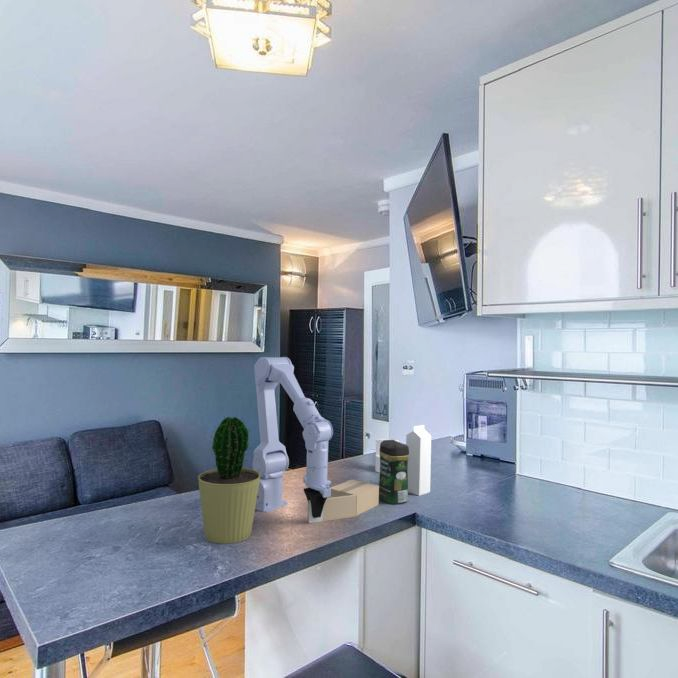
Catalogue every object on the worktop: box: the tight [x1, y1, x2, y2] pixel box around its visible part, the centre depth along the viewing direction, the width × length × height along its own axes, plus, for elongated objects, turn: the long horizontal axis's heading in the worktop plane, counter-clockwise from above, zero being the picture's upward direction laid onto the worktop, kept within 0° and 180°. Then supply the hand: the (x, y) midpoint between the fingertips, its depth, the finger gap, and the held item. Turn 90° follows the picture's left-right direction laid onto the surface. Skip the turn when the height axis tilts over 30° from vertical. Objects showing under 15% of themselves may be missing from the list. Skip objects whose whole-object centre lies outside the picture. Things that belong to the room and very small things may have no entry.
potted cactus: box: [197, 416, 261, 545], centre depth 120 cm, size 15×15×30 cm
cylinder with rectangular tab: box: [374, 437, 400, 474], centre depth 183 cm, size 9×9×12 cm
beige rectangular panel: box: [307, 495, 357, 524], centre depth 131 cm, size 1×14×6 cm, turn 114°
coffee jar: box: [378, 439, 409, 505], centre depth 149 cm, size 10×8×19 cm
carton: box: [327, 479, 380, 517], centre depth 142 cm, size 12×10×6 cm
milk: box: [405, 424, 432, 497], centre depth 158 cm, size 6×6×22 cm
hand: (315, 516), depth 128 cm, fingers closed
